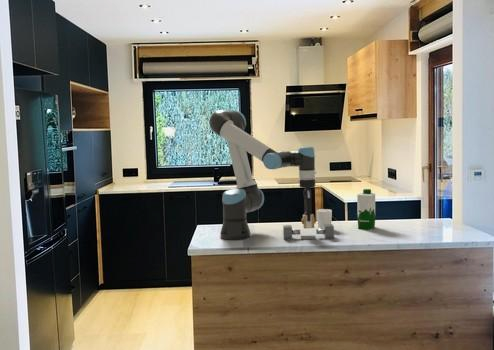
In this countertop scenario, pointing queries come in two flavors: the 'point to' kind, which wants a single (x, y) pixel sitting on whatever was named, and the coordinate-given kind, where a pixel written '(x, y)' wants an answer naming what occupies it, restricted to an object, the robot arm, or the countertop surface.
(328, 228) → the grey knob with stem
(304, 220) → the coupler
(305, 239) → the pad
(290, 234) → the bearing
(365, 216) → the milk carton
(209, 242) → the countertop surface
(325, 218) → the white cup
